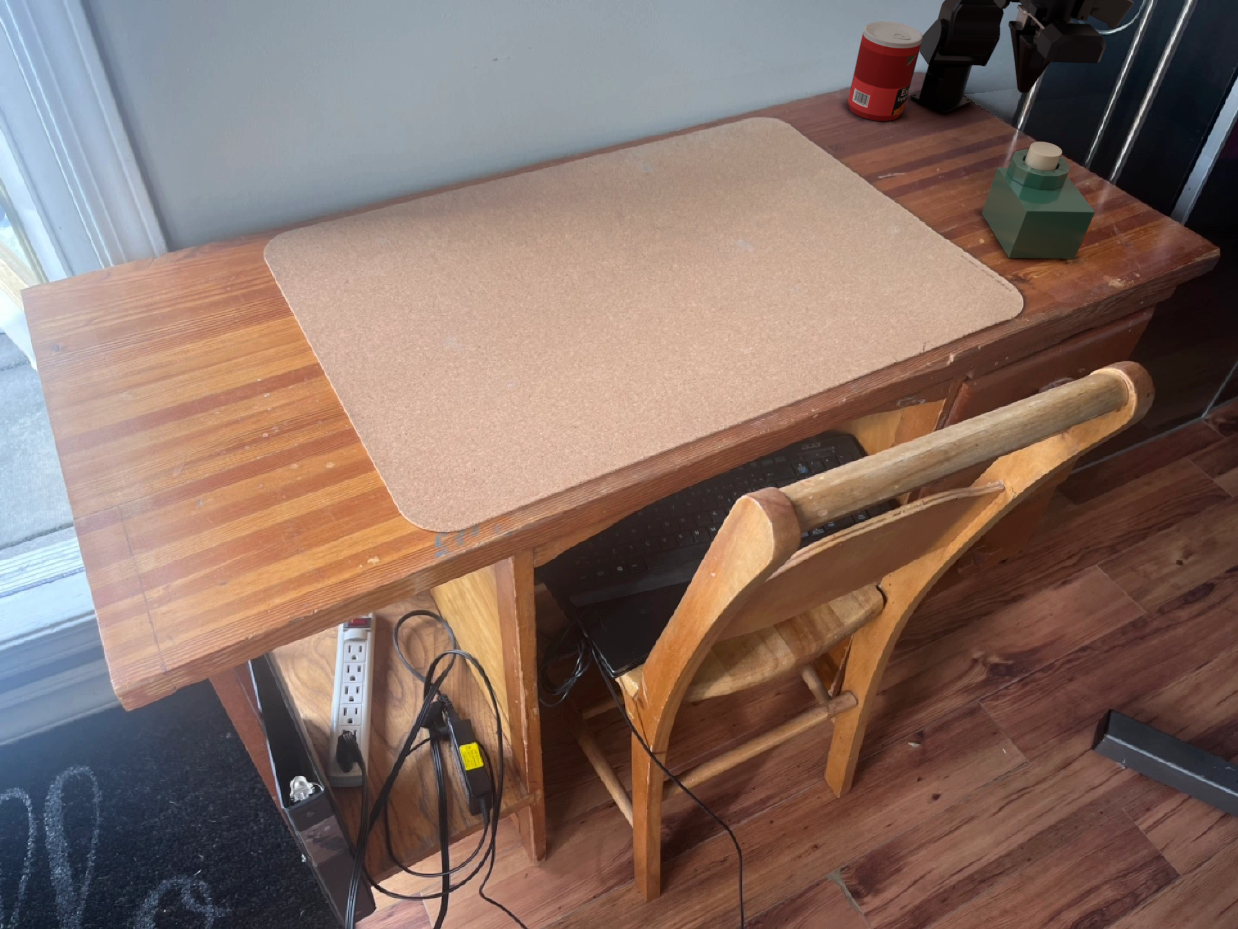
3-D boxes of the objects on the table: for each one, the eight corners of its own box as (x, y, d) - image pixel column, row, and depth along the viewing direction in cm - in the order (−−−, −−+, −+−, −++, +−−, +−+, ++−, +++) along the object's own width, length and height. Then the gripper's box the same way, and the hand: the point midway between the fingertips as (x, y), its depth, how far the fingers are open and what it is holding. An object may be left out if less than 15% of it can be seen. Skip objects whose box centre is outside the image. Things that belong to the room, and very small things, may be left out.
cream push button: (1019, 157, 116) (1025, 141, 115) (1049, 157, 116) (1055, 141, 115) (1030, 172, 114) (1036, 155, 112) (1060, 172, 114) (1067, 156, 112)
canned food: (902, 125, 138) (923, 46, 130) (845, 117, 139) (863, 38, 131) (902, 102, 143) (922, 25, 136) (847, 94, 144) (864, 17, 136)
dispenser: (978, 208, 122) (998, 147, 117) (1040, 209, 123) (1063, 149, 117) (1008, 258, 114) (1032, 196, 109) (1074, 259, 115) (1101, 197, 109)
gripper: (1179, -15, 102) (1118, 128, 113) (1106, -72, 115) (1058, 61, 126) (1075, -19, 101) (1024, 126, 112) (1014, -75, 114) (973, 59, 125)
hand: (1022, 91), depth 119 cm, fingers closed
